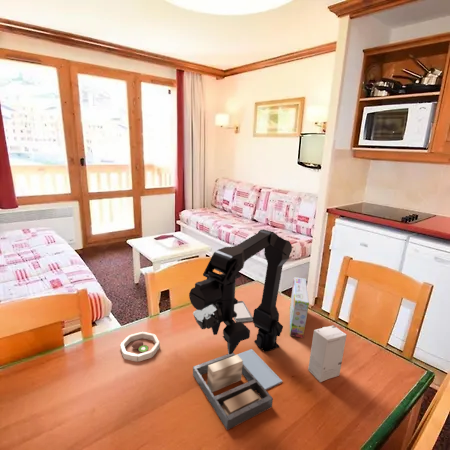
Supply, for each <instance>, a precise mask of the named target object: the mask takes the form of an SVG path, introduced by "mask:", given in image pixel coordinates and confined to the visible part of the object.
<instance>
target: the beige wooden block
mask: <svg viewBox="0 0 450 450" xmlns="http://www.w3.org/2000/svg"><path fill="white" fill-rule="evenodd" d="M242 364H243V360H242V359H241V358H240V357H239V356H238V355H237V354H235V356H232V357H229V358H227V359H224V360H221V361H218V362H216V363H213V364H210V365H208V373H207V381H206V384H207V385H208V387H209V389H210V390H211V392H212V393H215V392H217V391H219V390H221V389H224V388H226V387H228V386H230V385H233V384H236V383H238V382H239V381H242V376H243V375H242Z"/></svg>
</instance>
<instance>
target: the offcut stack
mask: <svg viewBox="0 0 450 450" xmlns="http://www.w3.org/2000/svg"><path fill="white" fill-rule="evenodd" d="M261 399H262V398H261V396H260V395H259V394H258V393H257V392H256V391H252V389H249V390H247V391H245V392H243V393H241V394H239V395H237V396H235V397H232V398H230V399H228V400H226V401H224V402H223V406H221V407H222V409H223V410H224V412H225V413H226V415H227V416H228V415H230V414H232V413H234V412H236V411H238V410H240V409H242V408H244V407H246V406H249V405H251V404H253V403H255V402H257V401H259V400H261Z"/></svg>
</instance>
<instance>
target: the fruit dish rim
mask: <svg viewBox="0 0 450 450" xmlns="http://www.w3.org/2000/svg"><path fill="white" fill-rule="evenodd" d="M142 339H144V340H149V341H152V342H153V344H154V345H153V346H152V348H151V349H150V350H148V351H147V352H144V353H141V352H140V353H134V352H129V351H127V350H126V347H127V346H128V345H129V344H130V343H131V342H135V341H138V340H142ZM160 344H161V343H160V340H159V339H158V337H157V335H156V334H155V333H152V332H146V331H140V332H136V333H132V334H129V335H127V336H126V337H125V338H124V340H123V341H121V343H120V346H119V347H120V352H121V355H122V357H123V359H124V360H127V361H131V362H138V363H139V362H141V361H145V360H147V359H151V358H153V357H155V355H156V353H157V352H158V351H159V349H160V347H161V346H160Z"/></svg>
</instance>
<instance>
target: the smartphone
mask: <svg viewBox="0 0 450 450" xmlns="http://www.w3.org/2000/svg"><path fill="white" fill-rule="evenodd" d="M234 311H235V312H236V313H237V317H234V318H233V320H234V321H235V322H236V323H237V322H242V323H243V324H244V323H253V319H252V318H253V316H252V314H251V312H250V311H249V308H248V306H247V305H246V303H245V301H244V300H238V304H234Z"/></svg>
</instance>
